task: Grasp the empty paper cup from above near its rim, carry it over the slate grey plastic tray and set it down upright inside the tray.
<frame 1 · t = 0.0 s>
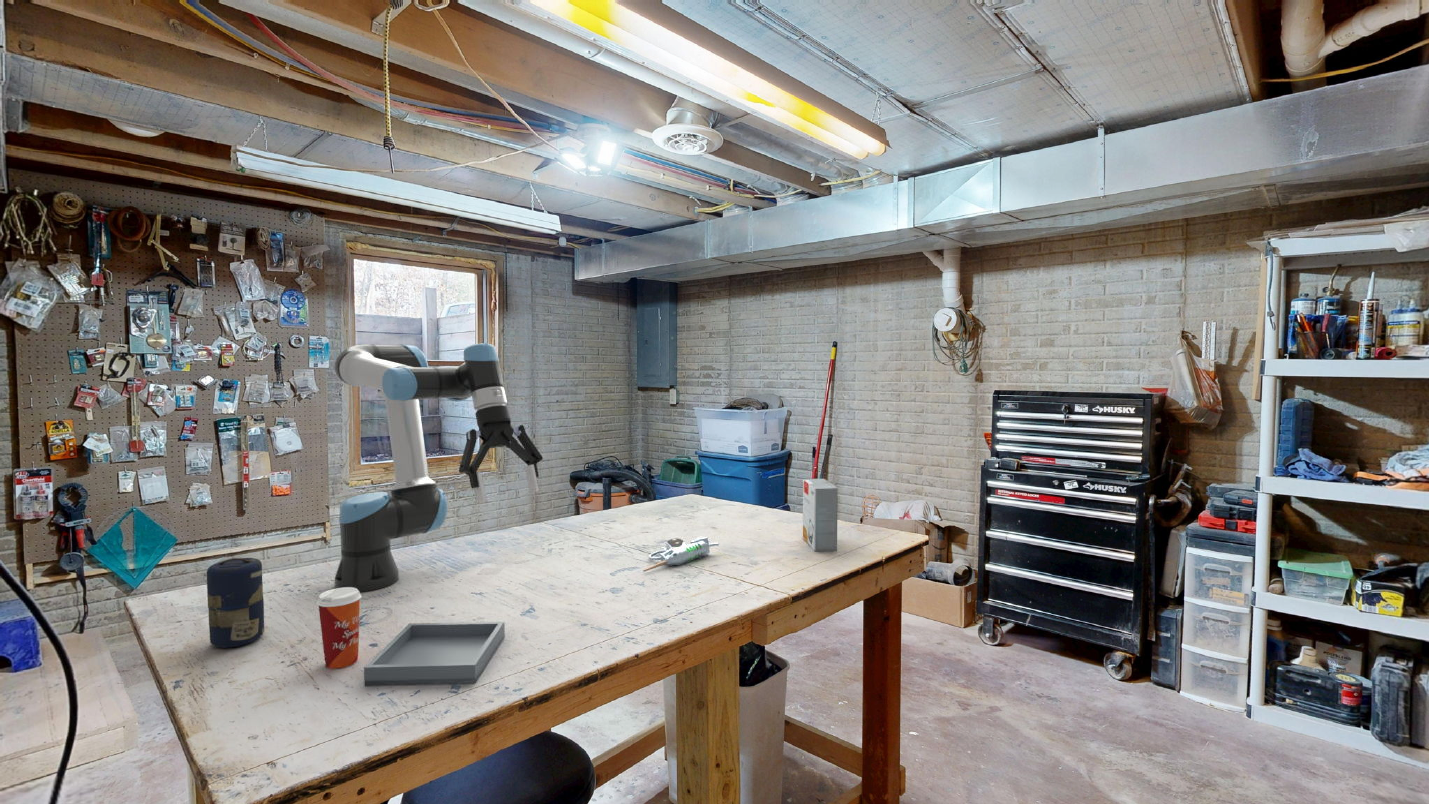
hand: (509, 497, 152), 28 cm above the table, fingers open, 13 cm apart
tray: (440, 659, 131), on the table
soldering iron: (669, 560, 197), on the table
canister: (238, 642, 140), on the table
hard drive box: (819, 544, 212), on the table
paper cup: (342, 663, 130), on the table
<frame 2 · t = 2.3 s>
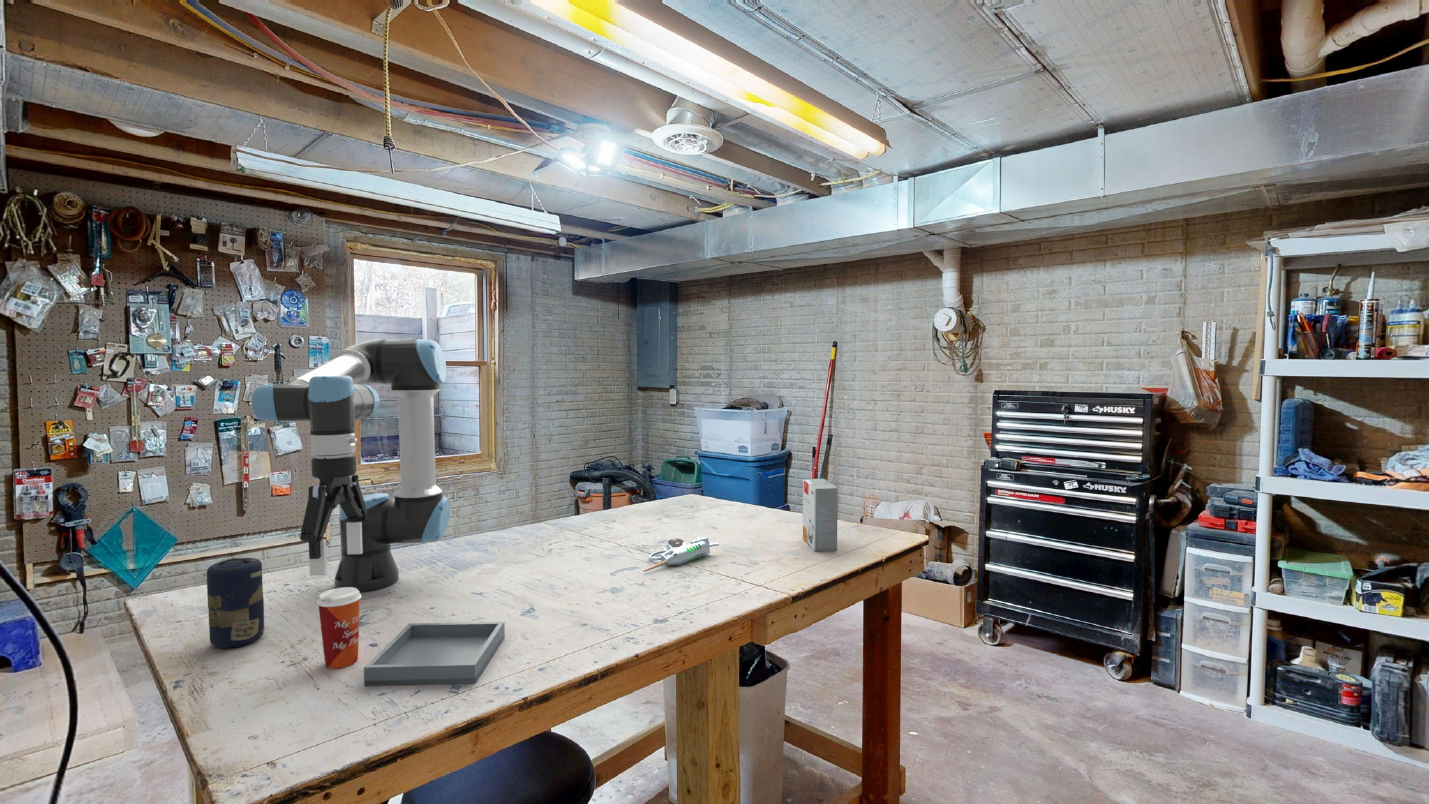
hand: (337, 563, 129), 20 cm above the table, fingers open, 13 cm apart
nothing on the table moved.
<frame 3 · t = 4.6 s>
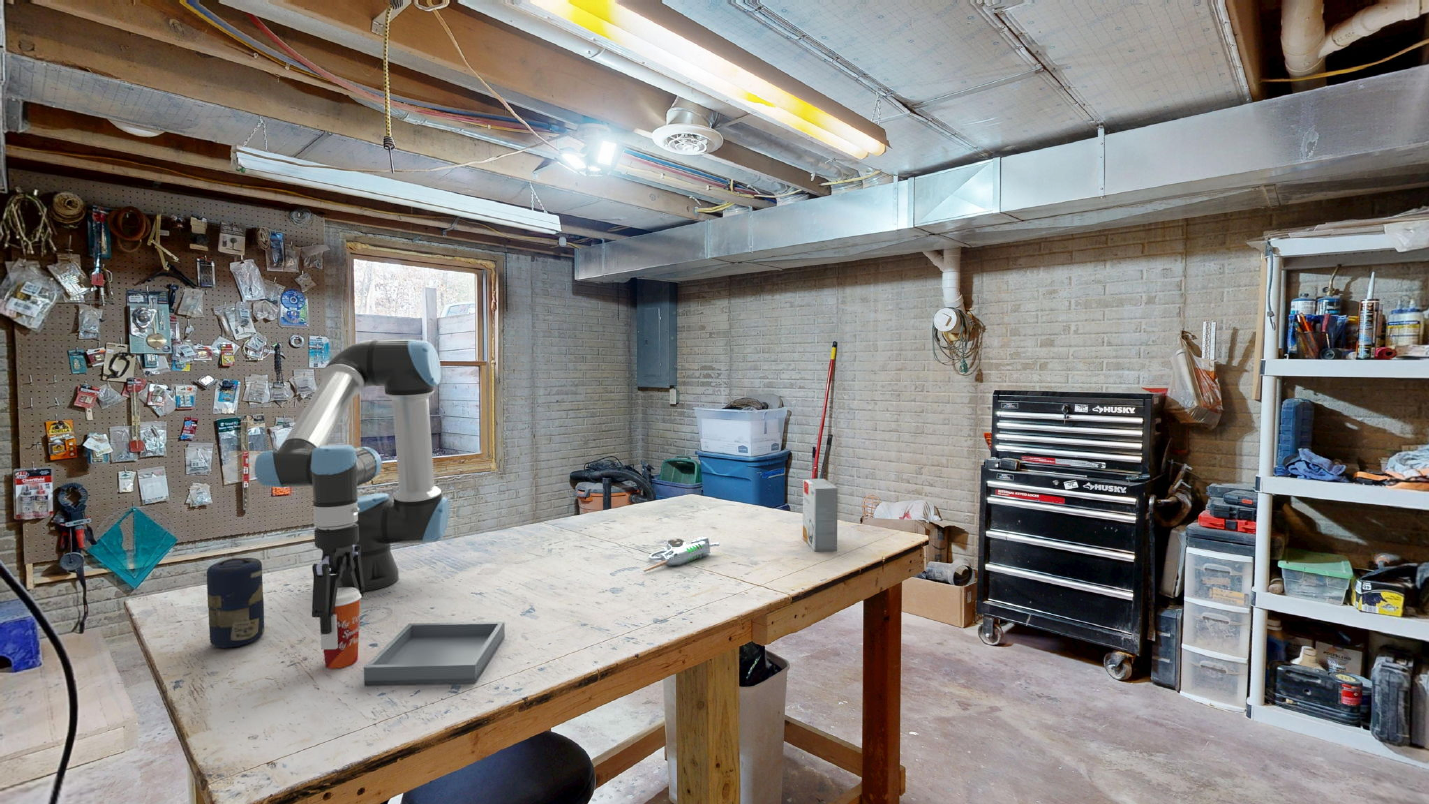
hand: (341, 638, 130), 5 cm above the table, fingers closed on paper cup, 8 cm apart
paper cup: (342, 663, 130), on the table, touching gripper
everything else where it was.
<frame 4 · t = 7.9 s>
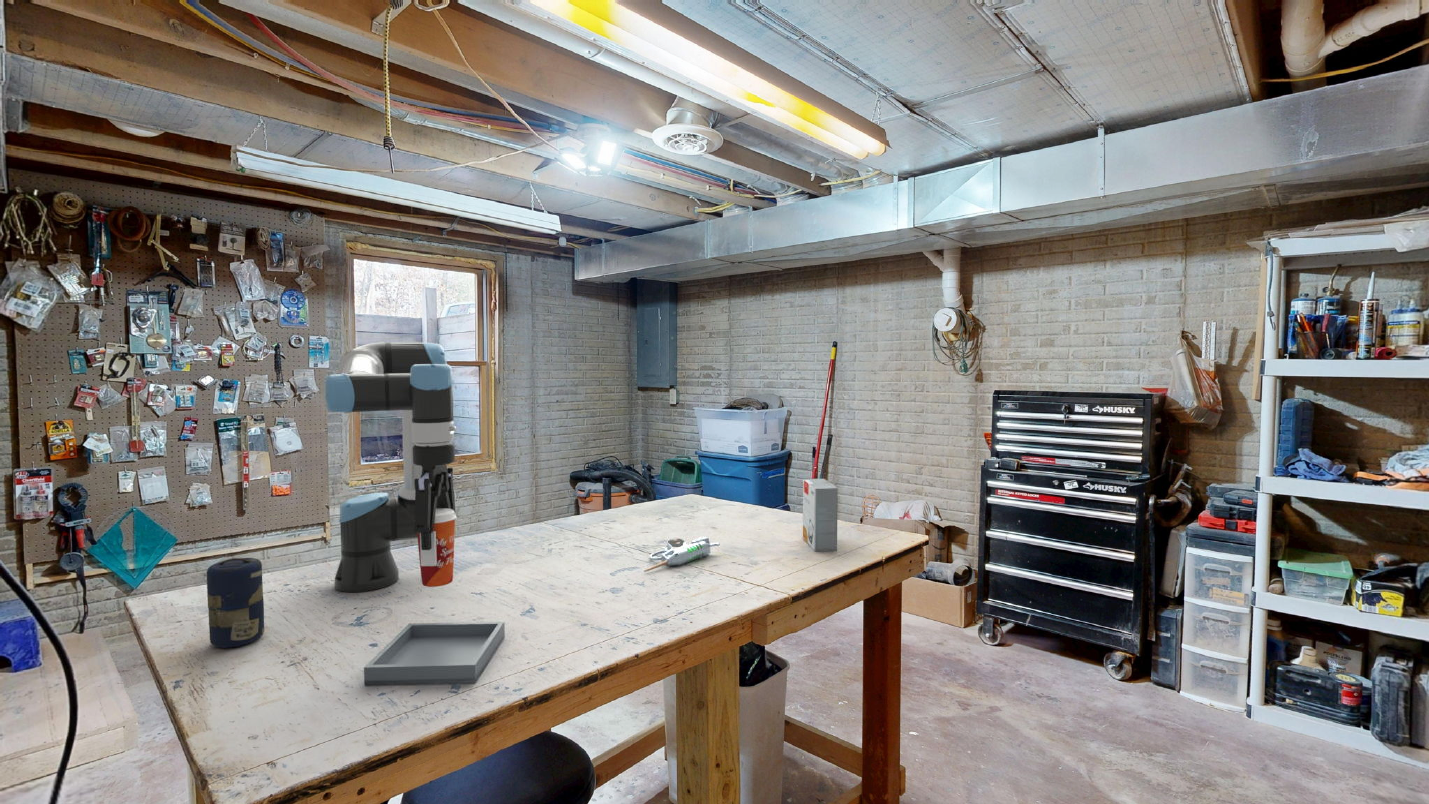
hand: (437, 558, 130), 21 cm above the table, fingers closed on paper cup, 8 cm apart
paper cup: (437, 582, 130), point 16 cm above the table, touching gripper
everything else where it was.
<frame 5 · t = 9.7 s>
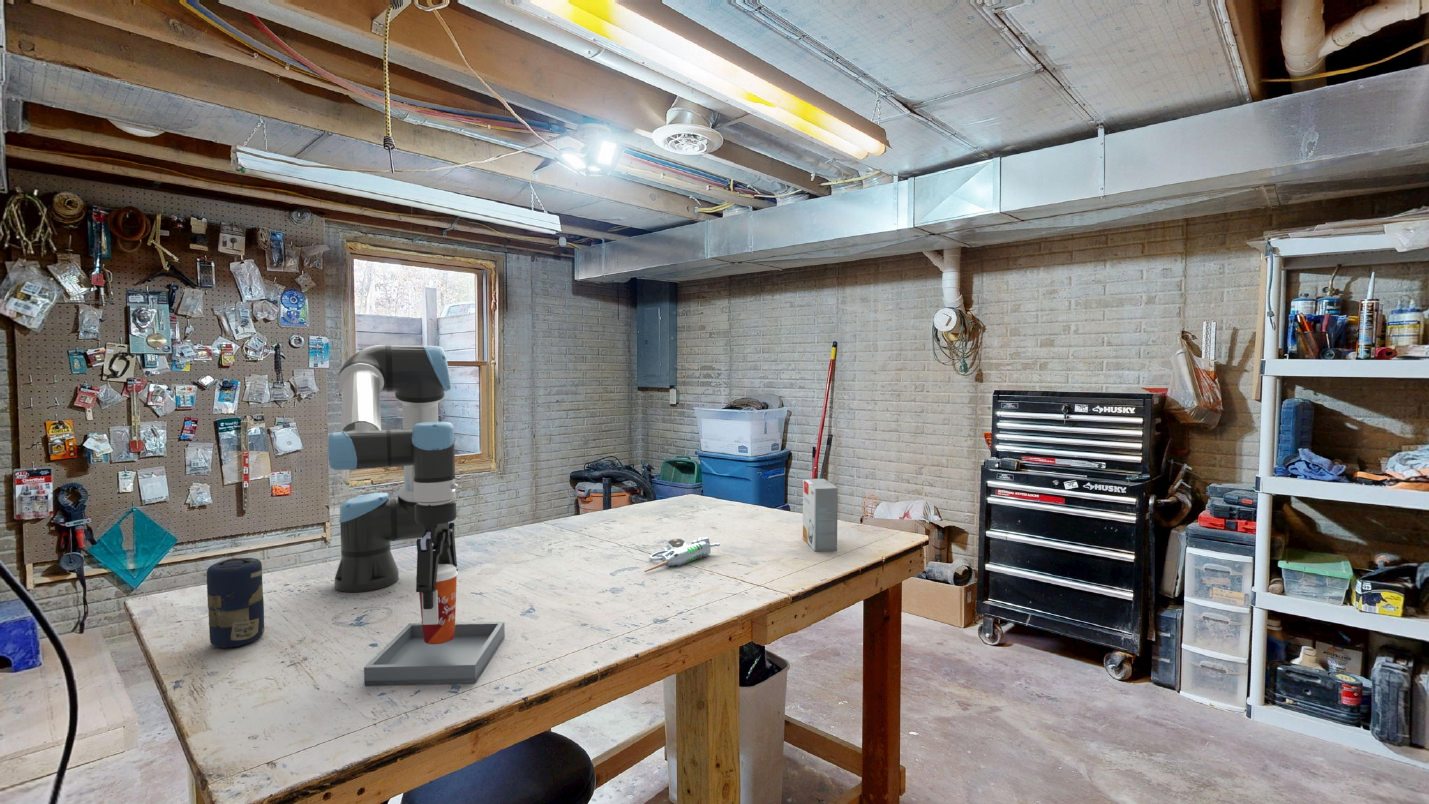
hand: (438, 615, 131), 9 cm above the table, fingers closed on paper cup, 8 cm apart
paper cup: (439, 639, 131), point 4 cm above the table, touching gripper
everything else where it was.
when the fingers open (7 cm above the table, at t = 11.0 s): paper cup drops 1 cm, resting on tray.
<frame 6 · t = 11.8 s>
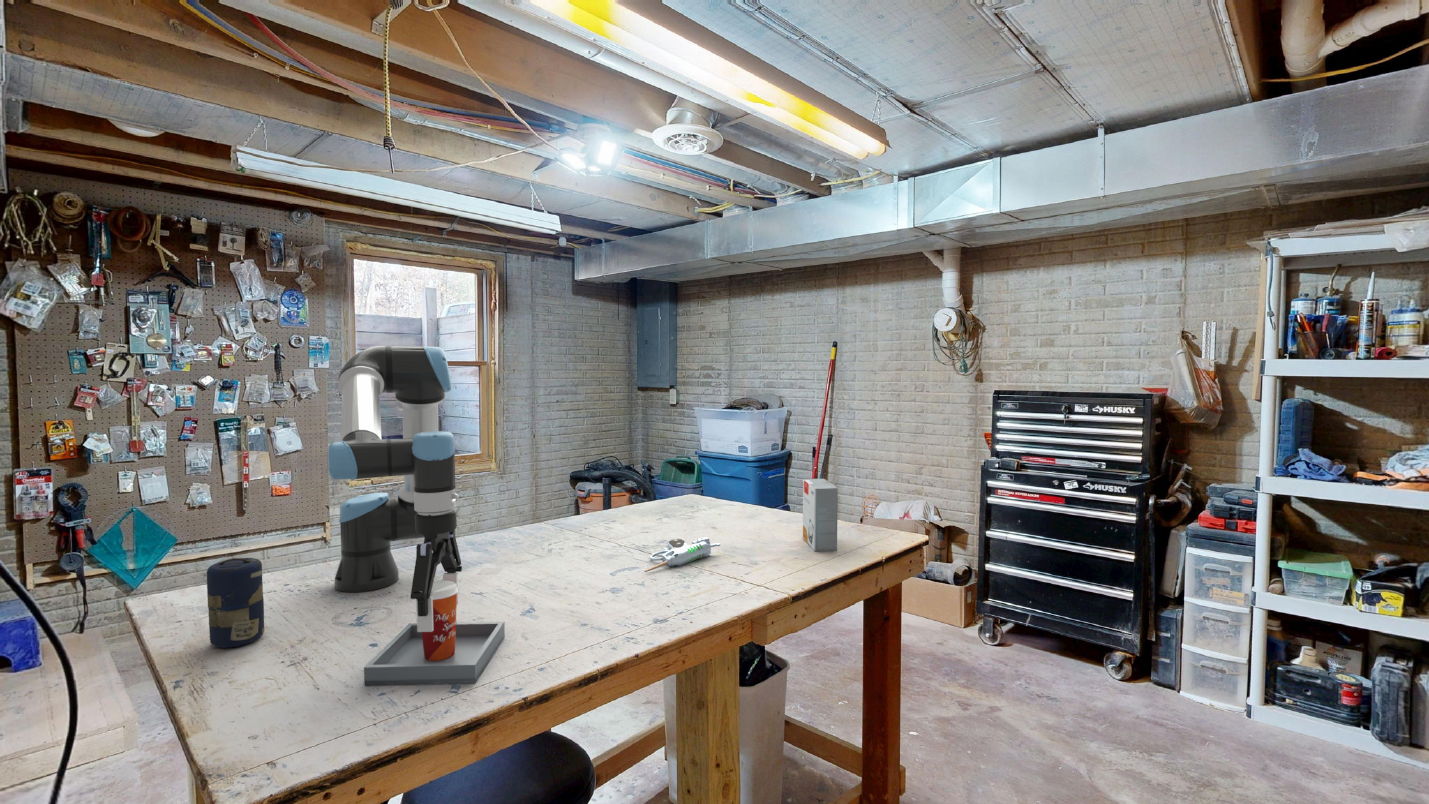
hand: (438, 617, 131), 9 cm above the table, fingers open, 13 cm apart
paper cup: (440, 655, 131), point 1 cm above the table, touching tray
everything else where it was.
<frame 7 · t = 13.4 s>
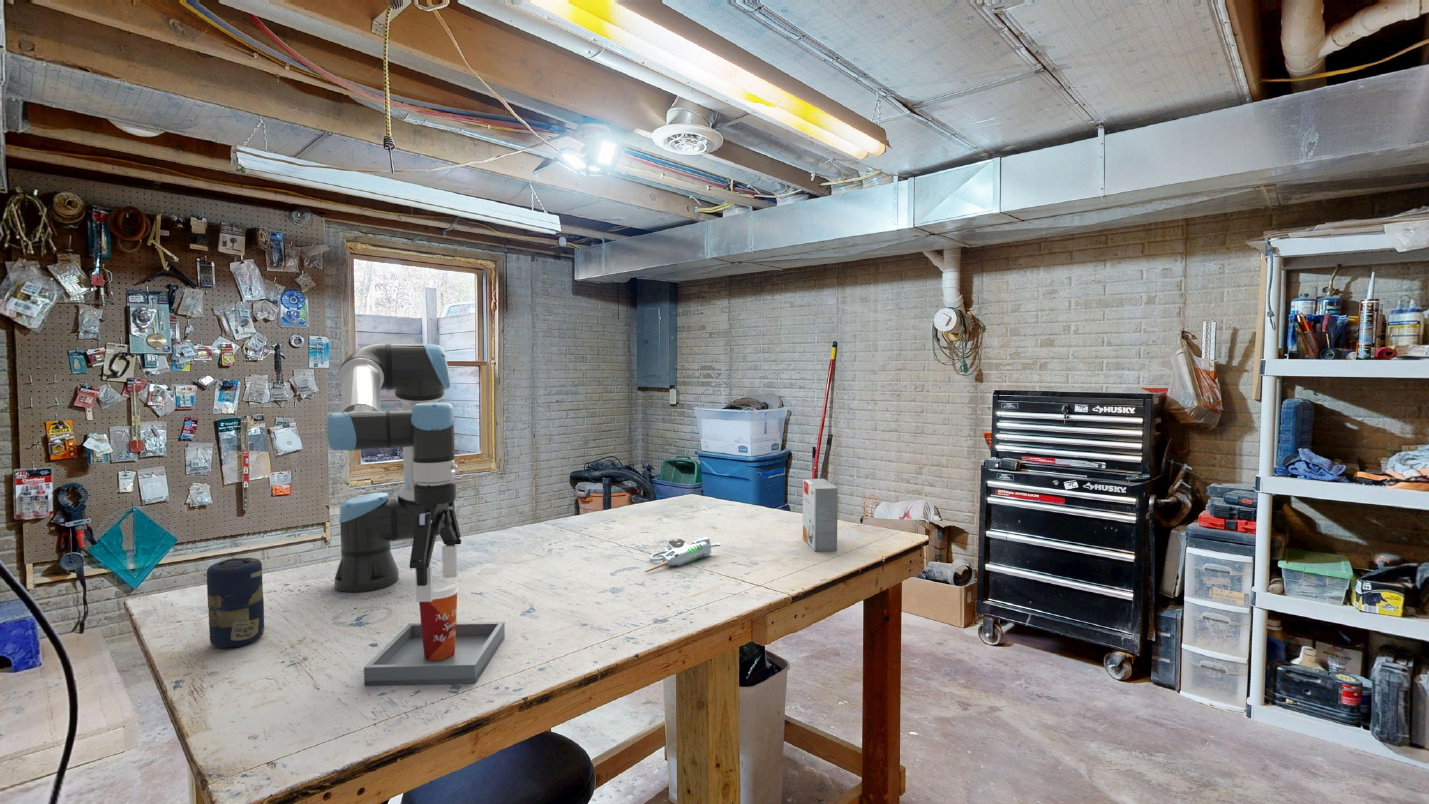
hand: (438, 588, 130), 14 cm above the table, fingers open, 13 cm apart
nothing on the table moved.
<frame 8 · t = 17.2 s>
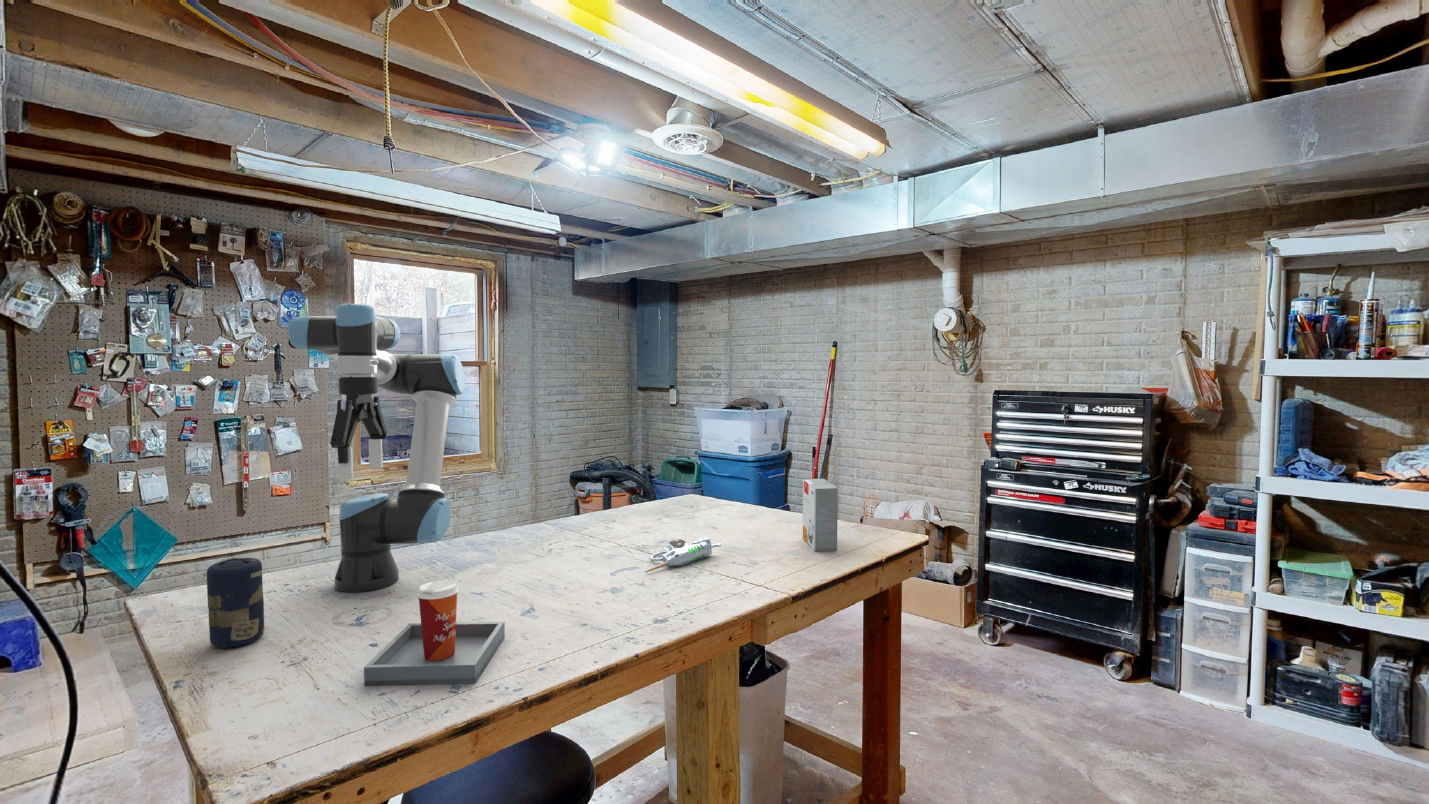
hand: (361, 473, 145), 35 cm above the table, fingers open, 13 cm apart
at the end: paper cup inside the target area on the tray (0.1 cm from its centre), point 0.8 cm above the tray's base; paper cup tilted 0°; the gripper is holding nothing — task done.
